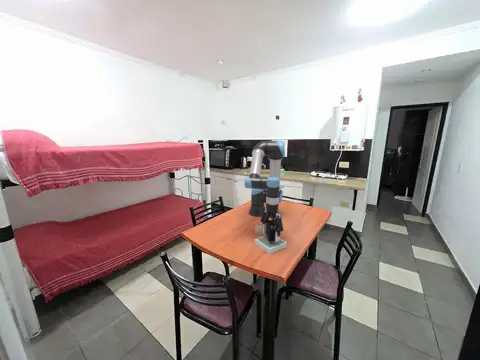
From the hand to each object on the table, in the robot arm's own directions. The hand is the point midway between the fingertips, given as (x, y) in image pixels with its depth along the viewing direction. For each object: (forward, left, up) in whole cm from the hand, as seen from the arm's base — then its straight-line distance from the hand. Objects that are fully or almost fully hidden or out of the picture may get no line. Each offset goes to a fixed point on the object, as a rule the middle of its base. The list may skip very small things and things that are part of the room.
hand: (270, 237), depth 125 cm
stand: (0, 0, -6) cm, 6 cm away
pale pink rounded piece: (-16, +4, -6) cm, 17 cm away
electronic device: (0, 0, -1) cm, 1 cm away
